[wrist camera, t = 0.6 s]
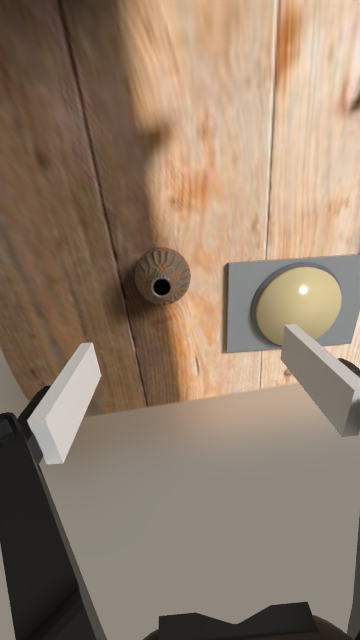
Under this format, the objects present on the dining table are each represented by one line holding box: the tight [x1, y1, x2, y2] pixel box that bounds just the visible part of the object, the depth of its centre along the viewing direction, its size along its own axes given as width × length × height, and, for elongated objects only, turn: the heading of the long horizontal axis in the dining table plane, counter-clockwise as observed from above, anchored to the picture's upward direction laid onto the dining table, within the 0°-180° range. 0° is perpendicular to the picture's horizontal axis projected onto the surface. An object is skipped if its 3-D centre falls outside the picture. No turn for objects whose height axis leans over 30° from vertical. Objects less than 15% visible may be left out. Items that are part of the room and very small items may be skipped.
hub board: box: [226, 254, 360, 353], centre depth 35 cm, size 14×20×2 cm
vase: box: [135, 247, 191, 305], centre depth 29 cm, size 7×7×9 cm
